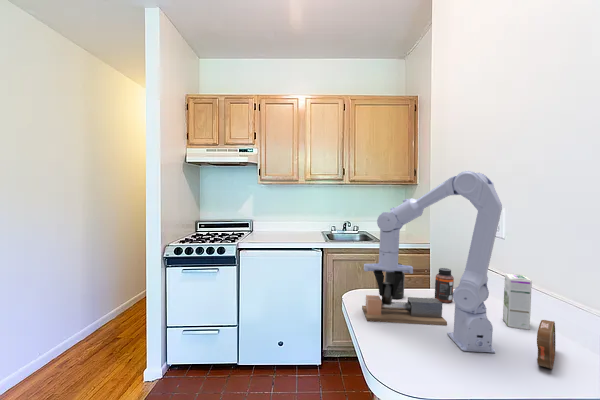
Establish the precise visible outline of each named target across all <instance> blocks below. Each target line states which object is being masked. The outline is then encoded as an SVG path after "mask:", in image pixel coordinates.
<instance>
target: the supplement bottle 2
mask: <svg viewBox="0 0 600 400" xmlns="http://www.w3.org/2000/svg"><path fill="white" fill-rule="evenodd" d="M454 280H455V277H454V276H453V275H452V270H451V268H447V267H440V268H438V273H437V274H436V275H435V282H434V298H436V299H438V300H439V301H440V302H441V303H445V304H447V303H448V304H450V303H452V302H453V301H454V300H453V292H454V283H455V281H454Z"/></svg>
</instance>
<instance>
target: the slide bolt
mask: <svg viewBox="0 0 600 400" xmlns="http://www.w3.org/2000/svg"><path fill="white" fill-rule="evenodd" d="M392 285H393V284H392V283H389V282H385V281H383V296H381V300H382V304H381V309H386V310H405V311H411V303H409V302H408V301H407V302H405V301H393V299H392Z"/></svg>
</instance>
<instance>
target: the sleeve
mask: <svg viewBox="0 0 600 400" xmlns="http://www.w3.org/2000/svg"><path fill="white" fill-rule="evenodd" d="M407 302H409V303H411V311H408V313H409V314H410V316H412V317H431V318H442V317H443V302H440V301H439V300H438V299H436V298H435V297H434V298H433V297H432V298H431V297H413V296H412V297H411V296H407Z"/></svg>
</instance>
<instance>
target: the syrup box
mask: <svg viewBox="0 0 600 400" xmlns="http://www.w3.org/2000/svg"><path fill="white" fill-rule="evenodd" d="M532 281H533V280H531V279H530V278H529V277H527V276H526V275H522V274H514V273H512V274H511V273H505V274H504V285H503V286H504V287H503V288H504V289H503V290H504V291H503V304H502V305H503V309H502V311H503V312H502V320H503V321H504V323H505V324H506V326H507V327H509V328H513V329H520V330H528V331H529V330H530V328H531V327H530V326H531V313H532V312H531V309H532V308H531V307H532V287H533V286H532V283H533V282H532Z"/></svg>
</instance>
